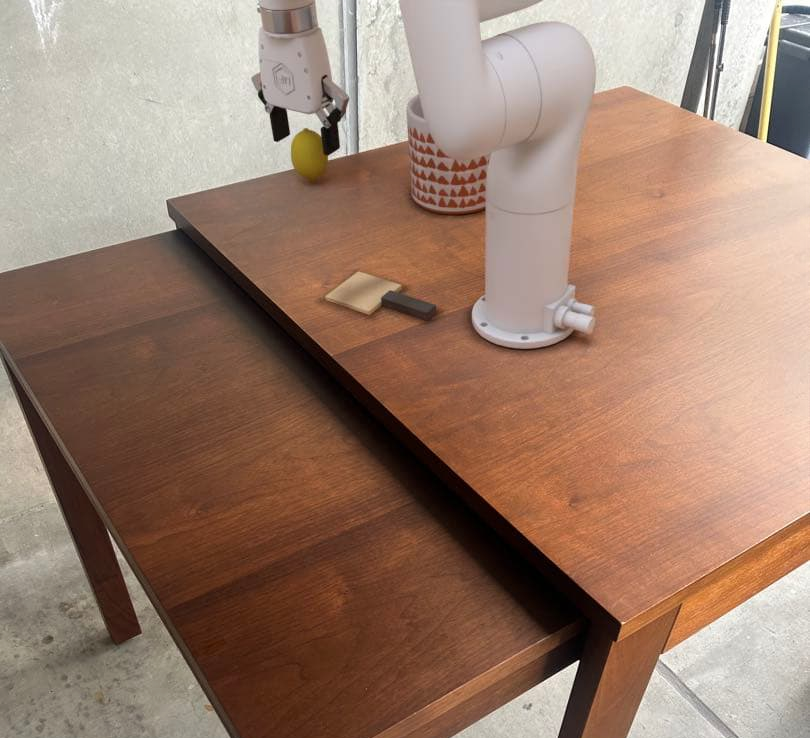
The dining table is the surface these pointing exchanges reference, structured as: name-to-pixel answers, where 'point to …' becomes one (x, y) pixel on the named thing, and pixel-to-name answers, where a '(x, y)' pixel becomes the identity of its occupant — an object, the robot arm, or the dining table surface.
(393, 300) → the spatula
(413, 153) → the planter
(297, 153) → the lemon
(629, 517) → the dining table surface
